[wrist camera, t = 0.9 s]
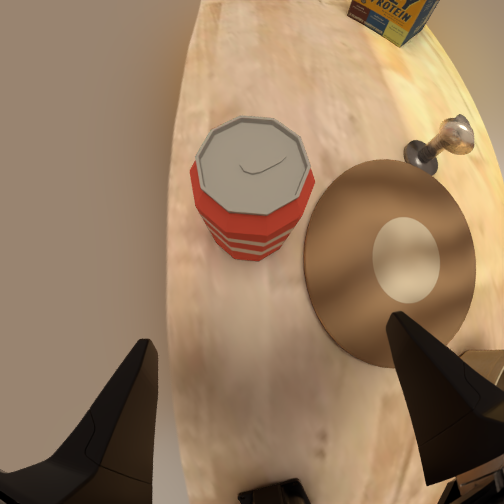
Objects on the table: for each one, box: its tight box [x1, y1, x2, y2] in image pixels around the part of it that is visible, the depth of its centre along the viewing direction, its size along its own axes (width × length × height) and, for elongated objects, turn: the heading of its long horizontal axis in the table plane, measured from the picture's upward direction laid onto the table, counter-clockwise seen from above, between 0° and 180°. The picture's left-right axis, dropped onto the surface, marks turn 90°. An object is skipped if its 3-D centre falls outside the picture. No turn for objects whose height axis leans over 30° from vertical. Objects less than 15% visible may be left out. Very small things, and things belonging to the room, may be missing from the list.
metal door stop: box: [404, 114, 474, 176], centre depth 21 cm, size 4×4×9 cm
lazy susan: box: [304, 159, 476, 368], centre depth 23 cm, size 20×20×1 cm
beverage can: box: [190, 116, 315, 261], centre depth 18 cm, size 6×6×12 cm
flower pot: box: [460, 350, 504, 391], centre depth 17 cm, size 9×9×9 cm
